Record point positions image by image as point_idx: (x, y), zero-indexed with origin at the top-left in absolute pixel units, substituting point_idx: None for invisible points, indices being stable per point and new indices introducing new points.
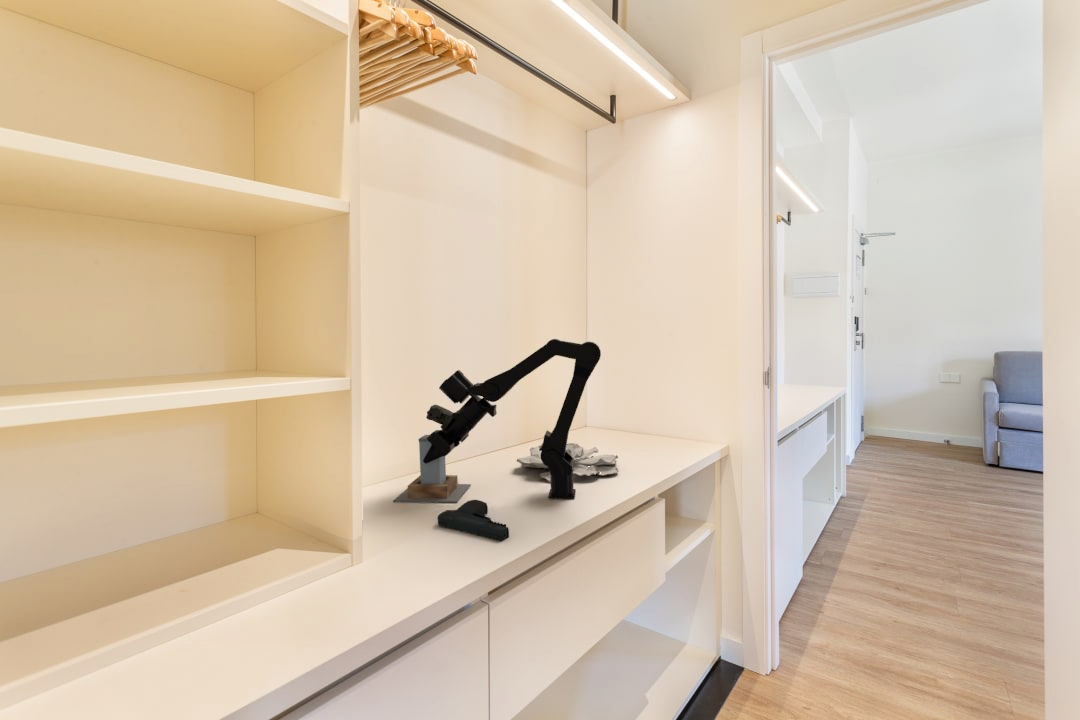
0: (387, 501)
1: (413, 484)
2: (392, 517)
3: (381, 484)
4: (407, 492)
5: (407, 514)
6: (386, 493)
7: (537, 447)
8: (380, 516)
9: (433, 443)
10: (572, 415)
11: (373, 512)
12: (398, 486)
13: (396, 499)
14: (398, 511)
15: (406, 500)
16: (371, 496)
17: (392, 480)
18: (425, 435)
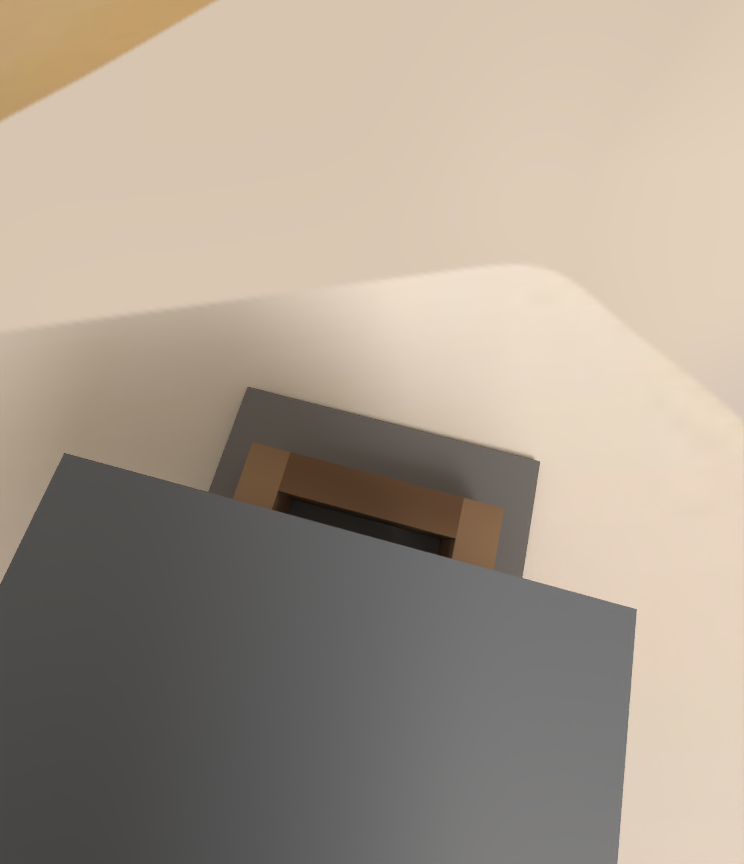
0: (271, 362)
1: (275, 477)
2: (17, 413)
3: (568, 299)
4: (368, 446)
5: (30, 480)
6: (405, 342)
7: None
8: (56, 359)
9: None
10: None
11: (126, 323)
12: (521, 386)
13: (258, 401)
14: (94, 431)
15: (225, 454)
16: (371, 282)
17: (639, 343)
18: (522, 623)
